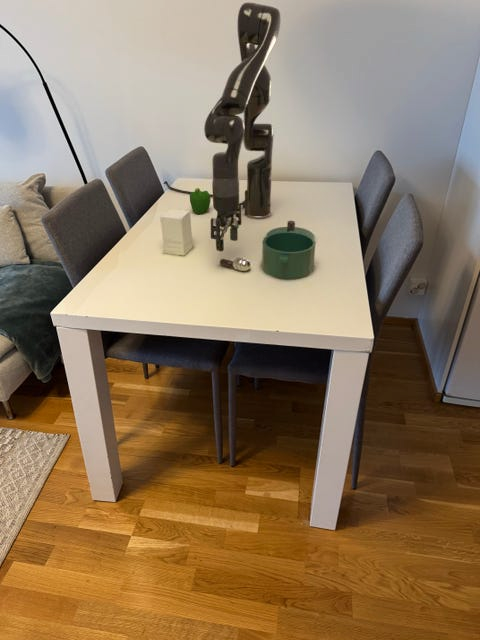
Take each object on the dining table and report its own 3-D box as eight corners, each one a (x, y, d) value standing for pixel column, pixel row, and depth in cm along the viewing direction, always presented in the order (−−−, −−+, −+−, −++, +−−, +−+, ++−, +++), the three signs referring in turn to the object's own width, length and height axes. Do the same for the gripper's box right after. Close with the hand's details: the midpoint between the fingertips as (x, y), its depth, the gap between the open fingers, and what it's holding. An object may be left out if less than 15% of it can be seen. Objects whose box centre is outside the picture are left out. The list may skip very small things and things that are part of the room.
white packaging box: (193, 247, 151) (191, 210, 144) (184, 256, 145) (181, 218, 138) (173, 244, 153) (170, 208, 146) (163, 253, 147) (159, 216, 140)
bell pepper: (201, 207, 184) (200, 182, 178) (214, 211, 179) (214, 186, 173) (185, 212, 179) (183, 187, 173) (198, 217, 174) (197, 191, 168)
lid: (262, 246, 151) (263, 229, 148) (270, 227, 165) (271, 211, 161) (311, 250, 148) (313, 233, 145) (316, 231, 161) (317, 215, 158)
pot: (256, 280, 131) (256, 254, 126) (268, 251, 148) (269, 226, 143) (309, 286, 128) (312, 259, 123) (315, 255, 145) (318, 230, 140)
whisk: (217, 267, 138) (216, 256, 136) (223, 262, 141) (222, 251, 139) (246, 274, 134) (246, 263, 132) (252, 269, 137) (252, 258, 135)
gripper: (226, 183, 132) (227, 235, 141) (201, 197, 122) (204, 251, 131) (249, 187, 129) (248, 239, 138) (225, 201, 119) (226, 257, 128)
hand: (227, 245), depth 134 cm, fingers open, 8 cm apart
